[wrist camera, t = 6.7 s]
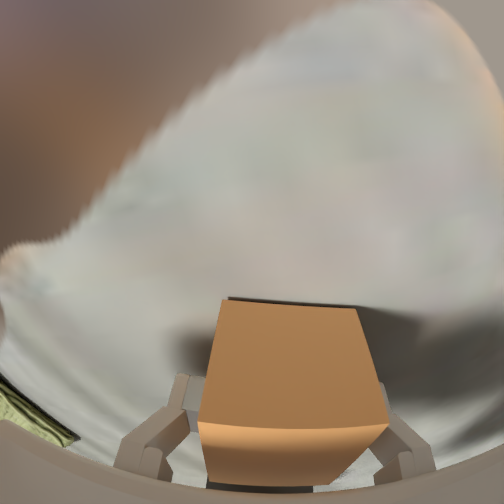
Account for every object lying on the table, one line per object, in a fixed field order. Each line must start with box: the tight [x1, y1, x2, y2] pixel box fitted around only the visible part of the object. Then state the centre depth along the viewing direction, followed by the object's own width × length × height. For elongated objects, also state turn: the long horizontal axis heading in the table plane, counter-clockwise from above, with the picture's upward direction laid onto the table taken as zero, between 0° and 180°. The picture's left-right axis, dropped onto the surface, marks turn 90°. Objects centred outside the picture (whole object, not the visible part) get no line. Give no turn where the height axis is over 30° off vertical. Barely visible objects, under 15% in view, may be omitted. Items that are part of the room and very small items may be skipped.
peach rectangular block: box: [197, 300, 390, 486], centre depth 10 cm, size 5×6×5 cm
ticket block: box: [206, 477, 313, 494], centre depth 17 cm, size 8×14×6 cm, turn 176°
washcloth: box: [0, 380, 74, 448], centre depth 21 cm, size 13×18×3 cm
